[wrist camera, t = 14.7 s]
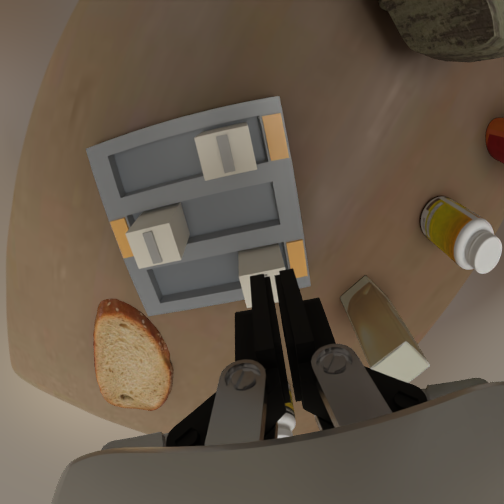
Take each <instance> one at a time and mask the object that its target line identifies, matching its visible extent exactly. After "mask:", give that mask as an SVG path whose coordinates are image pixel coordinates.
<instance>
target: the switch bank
mask: <svg viewBox="0 0 504 504" xmlns="http://www.w3.org/2000/svg"><path fill="white" fill-rule="evenodd" d="M243 122H246V123H247V125H248V128H249V132H250V137H251V142H252V146H253V151H254V156H255V161H256V165H257V170H253V171H248V172H243V173H238V174H234V175H229V176H225V177H220V178H216V179H211V180H207V181H205V179H204V175H203V171H202V167H201V163H200V159H199V155H198V151H197V147H196V143H195V139H194V138H195V137H196V136H197V135H199V134H200V133H201V132H204V131H208V130H212V129H216V128H221V127H225V126H229V125H234V124H239V123H243ZM86 151H87V155H88V158H89V162H90V165H91V168H92V171H93V175H94V178H95V181H96V184H97V187H98V190H99V193H100V196H101V199H102V202H103V205H104V208H105V211H106V214H107V217H108V219H109V222H110V225H111V228H112V230H113V233H114V236H115V238H116V241H117V244H118V246H119V249H120V251H121V254H122V256H123V259H124V261H125V264H126V266H127V269H128V271H129V273H130V276H131V278H132V281H133V283H134V285H135V288H136V290H137V292H138V294H139V297H140V299H141V301H142V303H143V306H144V308H145V310H146V312H147V314H148V316H152V315H158V314H165V313H171V312H177V311H183V310H189V309H194V308H200V307H206V306H211V305H217V304H222V303H228V302H233V301H239V300H244V295H243V291H242V287H241V283H240V280H239V263H238V251H241V250H246V249H251V248H256V247H261V246H266V245H270V244H275V243H278V244H279V247H280V251H281V255H282V258H283V262H284V265H285V270H287V269H292V268H293V269H294V273H295V276H296V279H297V283H298V286H299V288H304V287H308V286H311V284H310V277H309V269H308V262H307V254H306V247H305V240H304V233H303V227H302V220H301V214H300V207H299V201H298V195H297V189H296V183H295V177H294V171H293V166H292V160H291V154H290V149H289V143H288V138H287V133H286V128H285V122H284V117H283V112H282V107H281V102H280V97H279V96H276V97H270V98H264V99H259V100H253V101H248V102H243V103H238V104H234V105H229V106H225V107H220V108H216V109H212V110H207V111H203V112H199V113H195V114H192V115H188V116H184V117H180V118H177V119H173V120H170V121H166V122H163V123H159V124H156V125H153V126H150V127H146V128H143V129H140V130H137V131H134V132H131V133H128V134H125V135H122V136H119V137H116V138H114V139H111V140H108V141H105V142H103V143H100V144H97V145H95V146H92V147H90V148H87V149H86ZM179 202H181V206H182V209H183V213H184V216H185V219H186V223H187V226H188V229H189V233H190V236H189V239H188V242H187V244H186V247H185V251H184V254H183V257H182V260H179V261H174V262H169V263H165V264H160V265H155V266H150V267H146V268H141V269H139V268H138V266H137V263H136V261H135V258H134V255H133V253H132V250H131V248H130V245H129V242H128V240H127V237H126V234H125V233H126V232H127V231H128V230H129V228H130V227H131V226H132V224H133V223H134V222H135V221H136V219H137V218H138V217H139V216H140V214H141V213H142V212H144V211H148V210H151V209H155V208H159V207H163V206H167V205H171V204H175V203H179Z"/></svg>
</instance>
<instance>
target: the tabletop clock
mask: <svg viewBox="0 0 504 504" xmlns="http://www.w3.org/2000/svg"><path fill="white" fill-rule="evenodd" d="M379 5H380V7H381V8H382V9H383V10H385V11H388V12H389V14H390V16H391V18H392V20H393V22H394V23H395V25H396V27H397V29H398V31H399V33H400V35H401V36H402V38H403V40H404V41H405V43H406V44H407V45H408V47H409V48H410V49H411V50H413V51H416V52H418V53H421V54H424V55H426V56H429V57H431V58H434V59H438V60H443V61H456V62H475V61H481V60H488V59H495V58H500V57H504V0H379Z"/></svg>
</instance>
